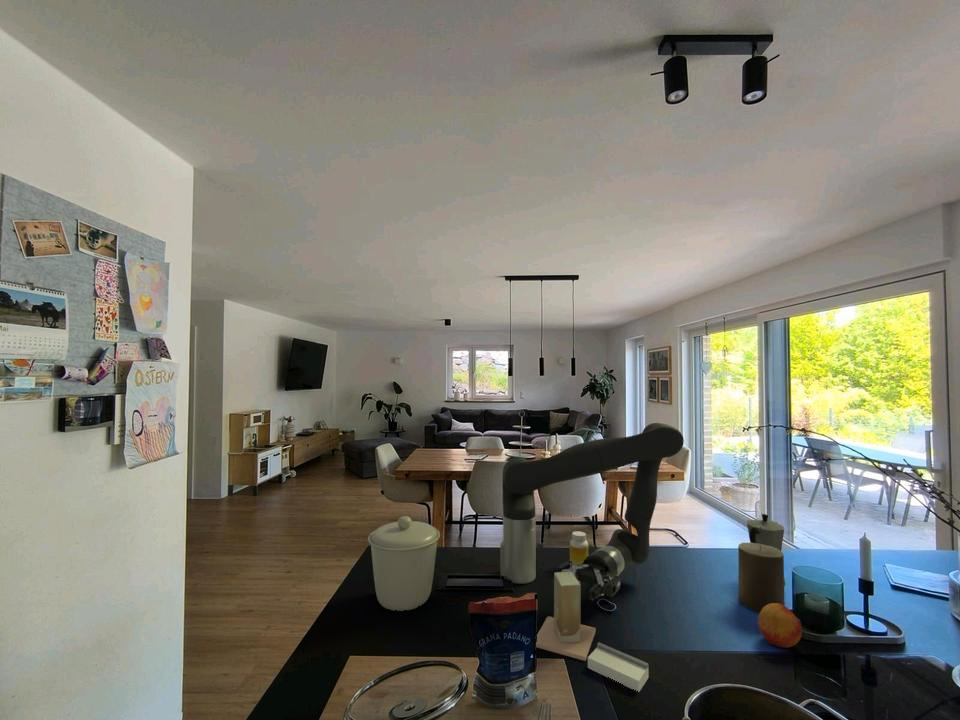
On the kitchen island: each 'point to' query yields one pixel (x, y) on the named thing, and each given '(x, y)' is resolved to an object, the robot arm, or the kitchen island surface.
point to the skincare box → (567, 607)
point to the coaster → (577, 650)
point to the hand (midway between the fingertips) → (572, 589)
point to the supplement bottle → (578, 548)
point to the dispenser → (618, 666)
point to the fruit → (779, 625)
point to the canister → (403, 563)
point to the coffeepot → (766, 532)
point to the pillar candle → (760, 575)
